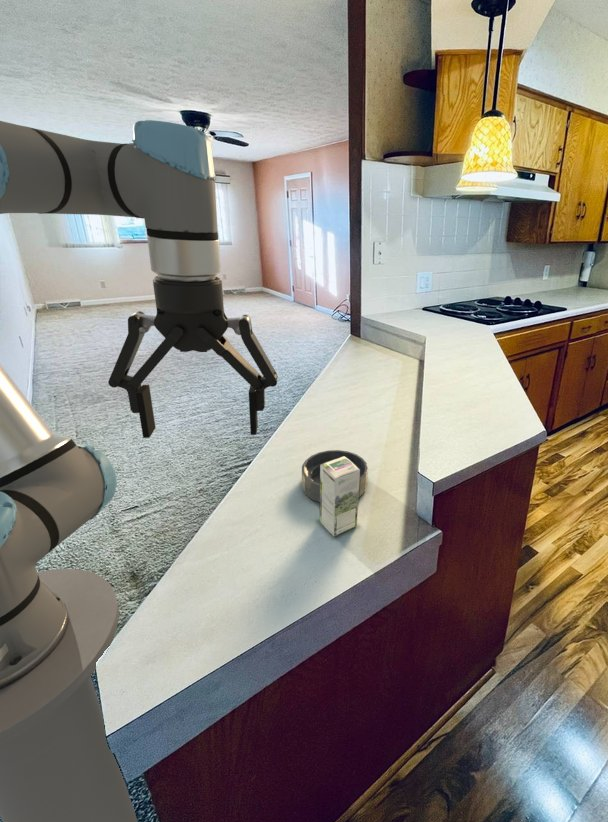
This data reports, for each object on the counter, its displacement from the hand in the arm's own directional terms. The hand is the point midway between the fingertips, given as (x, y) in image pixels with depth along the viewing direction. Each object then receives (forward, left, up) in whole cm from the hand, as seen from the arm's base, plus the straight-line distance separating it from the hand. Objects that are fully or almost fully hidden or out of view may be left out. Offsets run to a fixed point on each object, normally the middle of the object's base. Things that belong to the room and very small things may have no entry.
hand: (203, 431), depth 57 cm
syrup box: (+20, +14, -31) cm, 39 cm away
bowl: (+20, +28, -31) cm, 46 cm away
